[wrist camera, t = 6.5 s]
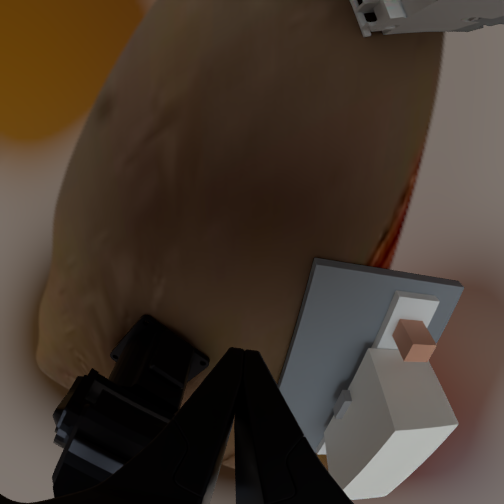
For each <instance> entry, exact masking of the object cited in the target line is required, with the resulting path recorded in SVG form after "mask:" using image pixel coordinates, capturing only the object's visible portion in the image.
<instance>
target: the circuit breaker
mask: <svg viewBox="0 0 504 504" xmlns="http://www.w3.org/2000/svg"><path fill="white" fill-rule="evenodd" d="M362 1H363V3H362V4H360V6H359V4H358V2H357V0H350V3H351V5H352V8H353V10H354V13H355V15H356V18H357V21H358V23H359V26H360V29H361V32H362V35H363V37H369V36H371V32H373V31H382V33H383V35H387V34H399V33H414V32H443V31H457V32H458V31H459V32H460V31H461V32H469V31H473V30H476V29H480V28H483V25H487V26H492V25H496V24H504V0H362ZM372 12H375V15H376V17H377V21H375V22H366V19H365V16H364V14H365V13H372ZM370 30H371V32H370Z"/></svg>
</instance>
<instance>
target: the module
mask: <svg viewBox="0 0 504 504" xmlns="http://www.w3.org/2000/svg"><path fill="white" fill-rule="evenodd" d="M333 411H334V416H333V418H332V419H331V421H330V423H329V425H328V426H327V428H326V430H325V431H324V437H325V446H326V454H327V463H328V471H329V473H330V475H331V476H332V477H333V479H334V480H335V481H336V482H337V484H338V485H339V486H340V487H341V489H342V490H343V491H344V492H345V493H346V495H347V496H348V497H349V498H350V500H356V499H365V498H375V497H383V496H386V495H387V494H388V493H390V492H391V491H392V490H393V489H395V488H396V487H397V486H398V485H399V484H400V483H401V482H403V481H404V480H405V479H406V478H407V477H408V476H409V475H410V474H411V473H412V472H414V470H416V469H417V467H419V466H420V465H421V464H422V463H423V462H424V461H425V460H426V459H427V458H428V457H429V456H430V455H431V454H432V453H433V452H434V451H435V450H436V449H437V448H438V447H439V445H440V444H441V443H442V442H443V441H444V440H445V439H446V438H447V437H448V436H449V435H450V434H451V432H452V431H453V430H454V429H455V428H456V426H458V422H457V419H456V417H455V415H454V412H453V410H452V408H451V406H450V404H449V402H448V400H447V398H446V395H445V393H444V391H443V389H442V387H441V385H440V383H439V381H438V379H437V377H436V375H435V373H434V371H433V369H432V367H431V365H430V363H429V361H428V362H405V361H403V359H402V356H401V354H400V352H399V350H390V349H375V348H368V350H367V352H366V354H365V356H364V358H363V360H362V362H361V364H360V366H359V368H358V370H357V372H356V374H355V376H354V378H353V380H352V382H351V384H350V386H349V388H348V390H342V392H341V394H340V396H339V398H338V400H337V401H336V403H335V405H334V407H333Z"/></svg>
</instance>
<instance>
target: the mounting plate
mask: <svg viewBox="0 0 504 504" xmlns="http://www.w3.org/2000/svg"><path fill="white" fill-rule="evenodd" d="M463 289H464V287H463V286H462V285H461V283H460V282H459V281H455V280H449V279H443V278H436V277H431V276H425V275H419V274H413V273H407V272H400V271H394V270H388V269H382V268H376V267H370V266H364V265H358V264H351V263H345V262H339V261H333V260H327V259H320V258H314V261H313V265H312V268H311V272H310V276H309V280H308V283H307V287H306V291H305V294H304V298H303V302H302V305H301V309H300V312H299V316H298V319H297V323H296V326H295V330H294V333H293V337H292V340H291V343H290V347H289V350H288V353H287V356H286V360H285V363H284V366H283V369H282V373H281V376H280V379H279V382H278V385H277V386H278V388H279V390H280V391H281V393H282V395H283V397H284V399H285V401H286V402H287V404H288V406H289V408H290V410H291V412H292V413H293V415H294V417H295V419H296V421H297V422H298V424H299V426H300V428H301V429H302V431H303V433H304V437H306V438H307V440H308V442H309V443H310V445H311V447H312V449H313V450H314V452H315V453H317V454H326V446H325V437H324V431H325V430H326V428H327V426H328V425H329V423H330V421H331V419H332V418H333V416H334V411H333V407H334V405H335V403H336V401H337V400H338V398H339V396H340V394H341V392H342V390H348V388H349V386H350V384H351V382H352V380H353V378H354V376H355V374H356V372H357V370H358V368H359V366H360V364H361V362H362V360H363V358H364V356H365V354H366V352H367V350H368V348H375V349H390V350H399V352H400V354H401V356H402V359H403V361H405V362H428V360H429V358H430V356H431V355H432V353H433V351H434V349H435V348H436V346H437V345H436V343H437V342H438V339H439V338H440V336H441V334H442V332H443V330H444V328H445V326H446V325H447V323H448V321H449V319H450V317H451V314H452V313H453V310H454V308H455V306H456V304H457V302H458V300H459V298H460V296H461V293H462V291H463Z"/></svg>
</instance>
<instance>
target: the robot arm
mask: <svg viewBox="0 0 504 504" xmlns="http://www.w3.org/2000/svg"><path fill="white" fill-rule="evenodd" d="M145 321H148V322H149V323H147V322H145ZM110 357H111V358H112V359H113V360H114V361H116V362H117V363H116V364H115V366H114V368H113V370H112V372H111V374H110V376H109V378H108V379H107V378H105V377H103V376H102V375H100V374H98V373H99V372H98V371H96V370H94V369H93V368H92V369H91V371H90V372H89V374H88V376H87V375H84V377H83V376H78V377H77V378H76V380H75V382H74V383H73V385H72V387H71V389H70V390H69V392H68V393H67V395H66V396H65V397H64V399H63V400H62V401H61V403H60V404H59V405H58V407H57V408H56V410H55V412H54V414H53V418H54V421H55V424H56V429H55V432H56V433H57V434H56V436H55V439H54V443H55V444H56V445H58V446H60V447H62V448H64V450H63V452H62V454H61V457H60V459H59V461H58V463H57V466H56V468H55V471H54V473H53V476H52V480H53V492H54V497H55V498H52V499H48V500H44V501H39V502H33V503H20V502H16V501H12V500H10V499H8V498H6V497H4V496H3V495H1V494H0V504H210V501H211V498H212V494H213V491H214V487H215V484H216V480H217V477H218V474H219V470H220V467H221V463H222V460H223V456H224V453H225V449H226V446H227V442H228V439H229V435H230V432H231V428H232V424H233V420H234V415H235V420H234V432H235V479H236V480H235V481H236V504H354V503H353V502H352V501H351V500H350V498H349V497H348V496H347V495H346V493H345V492H344V491H343V490H342V489H341V487H340V486H339V485H338V484H337V482H336V481H335V480H334V479H333V477H332V476H331V475H330V473H329V472H328V471H327V469H326V468H325V467H324V465H323V464H322V463H321V461H320V460H319V458H318V457H317V455H316V453H315V452H314V450H313V449H312V447H311V445H310V443H309V442H308V440H307V438H306V437H304V433H303V431H302V429H301V428H300V426H299V424H298V422H297V421H296V419H295V417H294V415H293V413H292V412H291V410H290V408H289V406H288V404H287V402H286V401H285V399H284V397H283V395H282V393H281V391H280V390H279V388H278V386H277V384H276V382H275V380H274V379H273V377H272V375H271V373H270V371H269V369H268V367H267V365H266V364H265V362H264V360H263V358H262V356H261V354H260V352H258V351H255V350H248V349H246V350H245V351H244V350H243V349H241V348H234V347H231V348H229V349H228V351H227V352H226V353H225V354H224V356H223V357H222V358H221V359H220V361H219V362H218V363H217V364H216V366H215V367H214V368H213V369H212V371H211V372H210V373H209V374H208V376H207V377H206V378H205V379H204V381H203V382H202V383H201V384H200V385H199V387H198V388H197V389H196V390H195V392H194V393H193V394H192V395H191V396H190V398H189V399H188V400H187V401H186V402H185V404H184V405H183V406H182V407H181V409H180V406H181V402H182V399H183V395H184V391H185V387H186V383H187V382H188V381H190V380H191V379H192V378H193V377H195V376H196V375H197V374H199V373H200V372H201V371H203V370H204V369H205V368H206V367H208V366H209V361H210V360H209V358H208V357H207V356H205V355H204V354H202V353H201V352H199V351H198V350H196V349H195V348H194V347H192V346H191V345H189V344H188V343H186V342H185V341H184V340H182V339H181V338H179V337H178V336H177V335H175V334H174V333H172V332H171V331H170V330H168V329H167V328H165V327H164V326H163V325H161V324H160V323H159V322H157V321H156V320H155V319H153V318H152V317H151V316H149V315H143V316H142V317H141V318H140V319H139V320H138V322H137V323H136V324H135V325H134V326H133V327H132V328H131V330H130V331H129V332H128V333H127V334H126V335H125V336H124V338H123V339H122V340H121V341H120V342H119V343H118V345H117V346H116V347H115V348H114V349H113V350H112V352H111V354H110ZM202 361H204V362H202Z"/></svg>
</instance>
